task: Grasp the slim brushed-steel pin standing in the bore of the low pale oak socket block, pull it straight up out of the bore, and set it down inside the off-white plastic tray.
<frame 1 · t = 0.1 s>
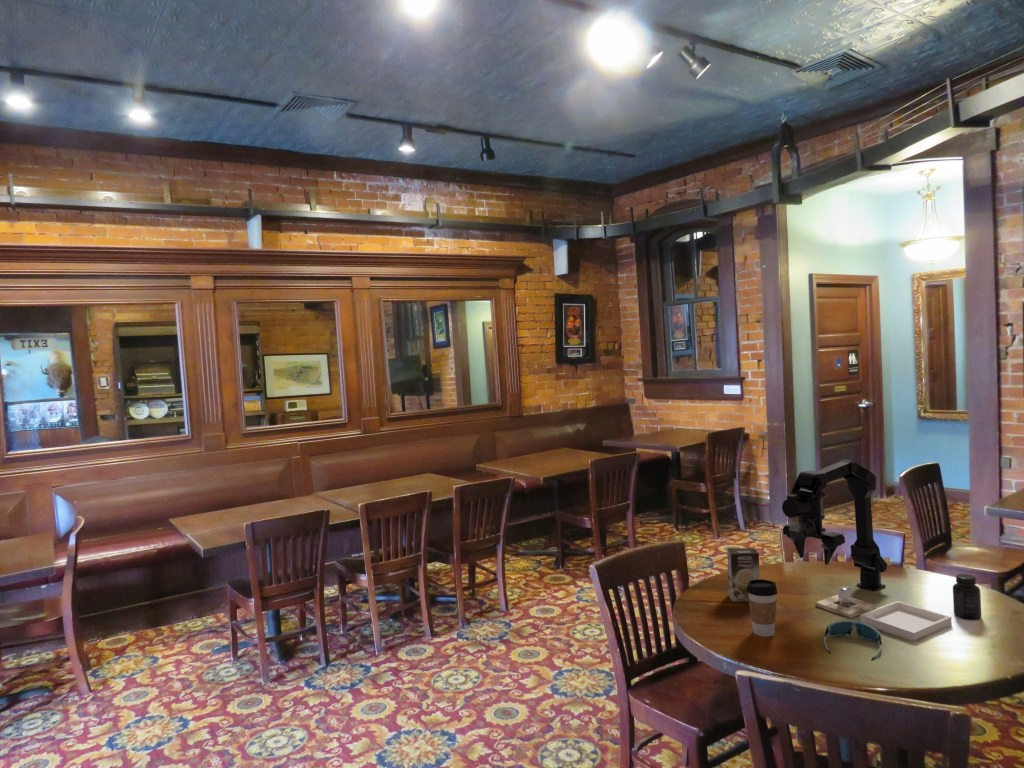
hand: (813, 561, 215), 15 cm above the table, fingers open, 9 cm apart
coffee box: (744, 598, 226), on the table
coffee cup: (763, 633, 200), on the table
socket block: (845, 607, 214), on the table
tray: (905, 624, 199), on the table
supplement bottle: (967, 616, 202), on the table
sunglasses: (852, 648, 188), on the table
steel pin: (844, 598, 214), in the socket block
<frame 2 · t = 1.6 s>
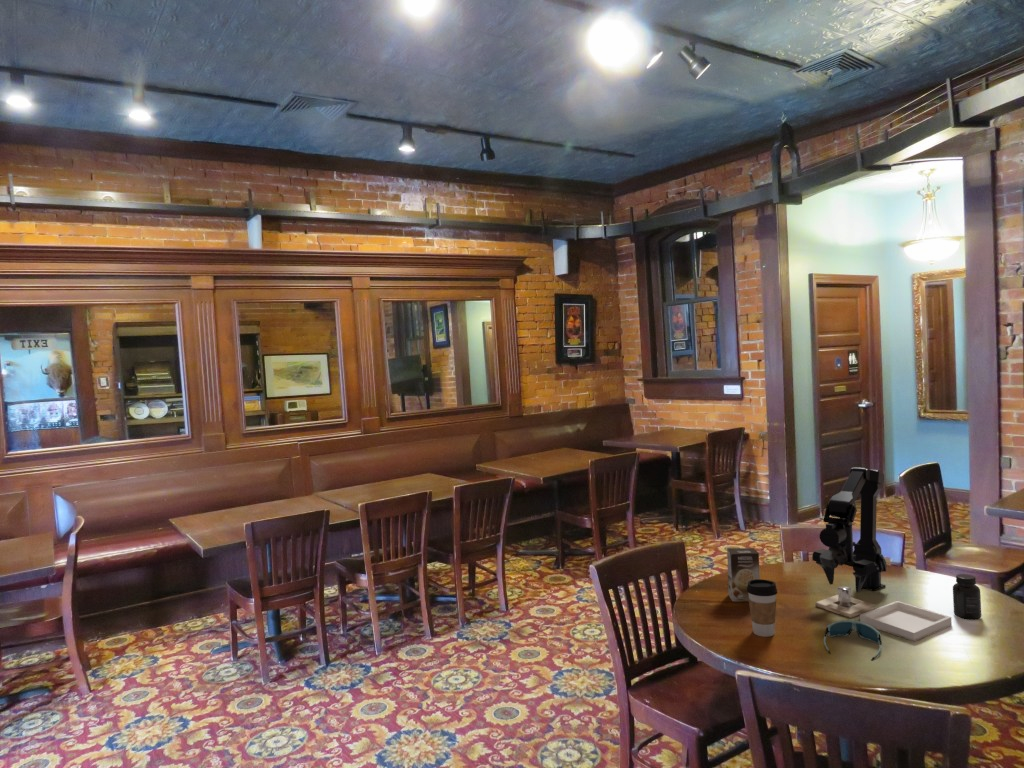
hand: (844, 588, 214), 6 cm above the table, fingers open, 9 cm apart
nothing on the table moved.
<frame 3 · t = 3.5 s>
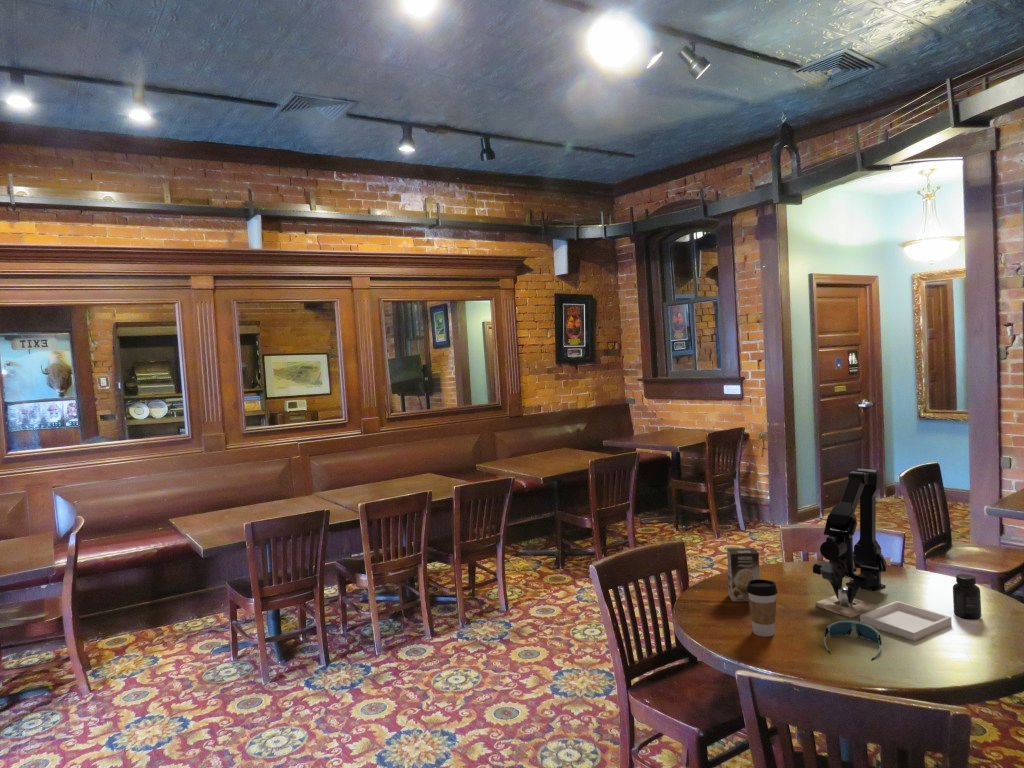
hand: (844, 600, 214), 2 cm above the table, fingers closed on steel pin, 4 cm apart
steel pin: (844, 597, 214), in the socket block, touching gripper
everything else where it was.
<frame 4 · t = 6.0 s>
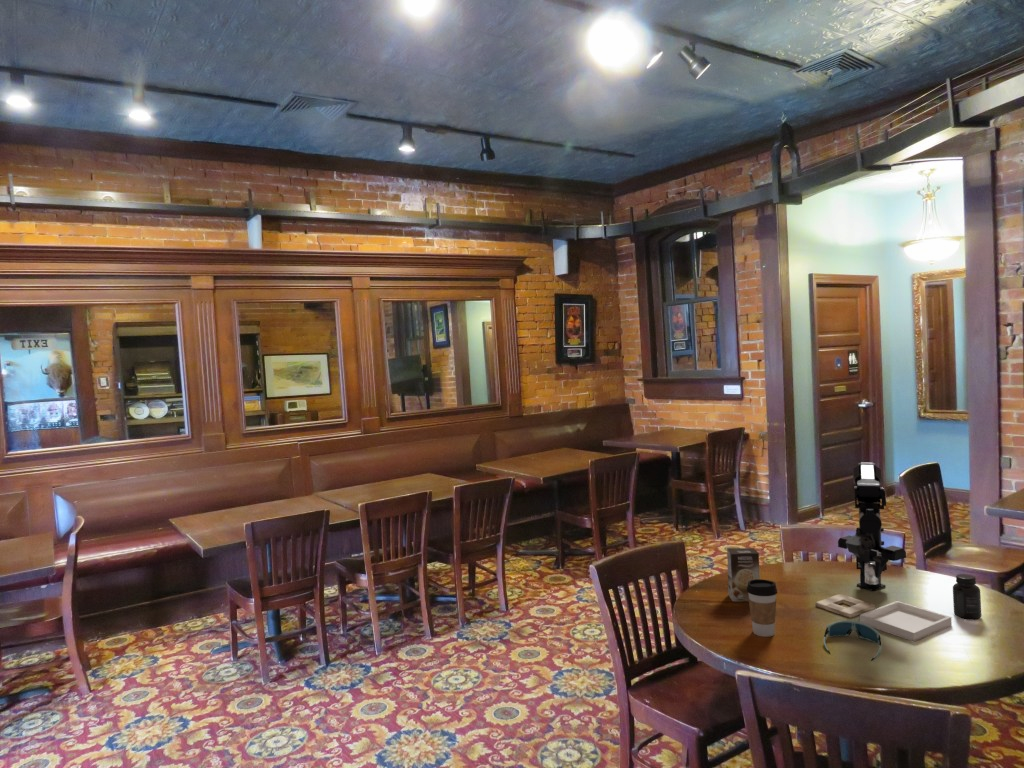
hand: (871, 575, 206), 12 cm above the table, fingers closed on steel pin, 4 cm apart
steel pin: (871, 572, 206), point 13 cm above the table, touching gripper
everything else where it was.
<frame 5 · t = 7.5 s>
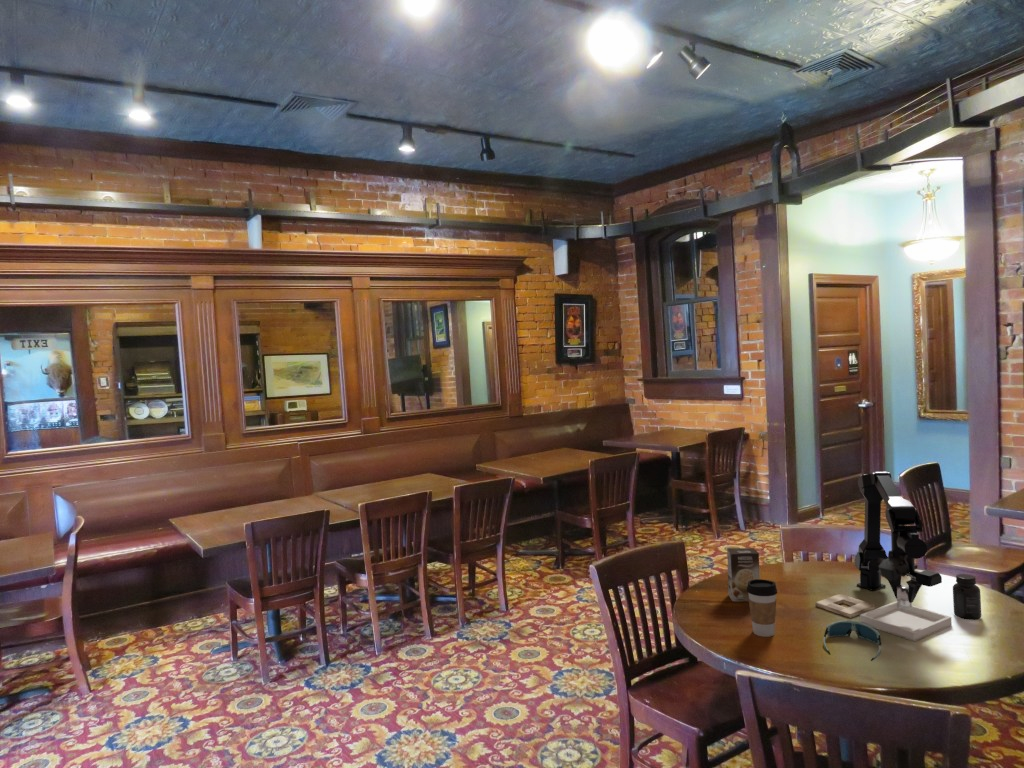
hand: (904, 600, 199), 7 cm above the table, fingers closed on steel pin, 4 cm apart
steel pin: (904, 597, 199), point 8 cm above the table, touching gripper
everything else where it was.
when the fingers open (4 cm above the table, at t = 8.7 s): steel pin drops 1 cm, resting on tray.
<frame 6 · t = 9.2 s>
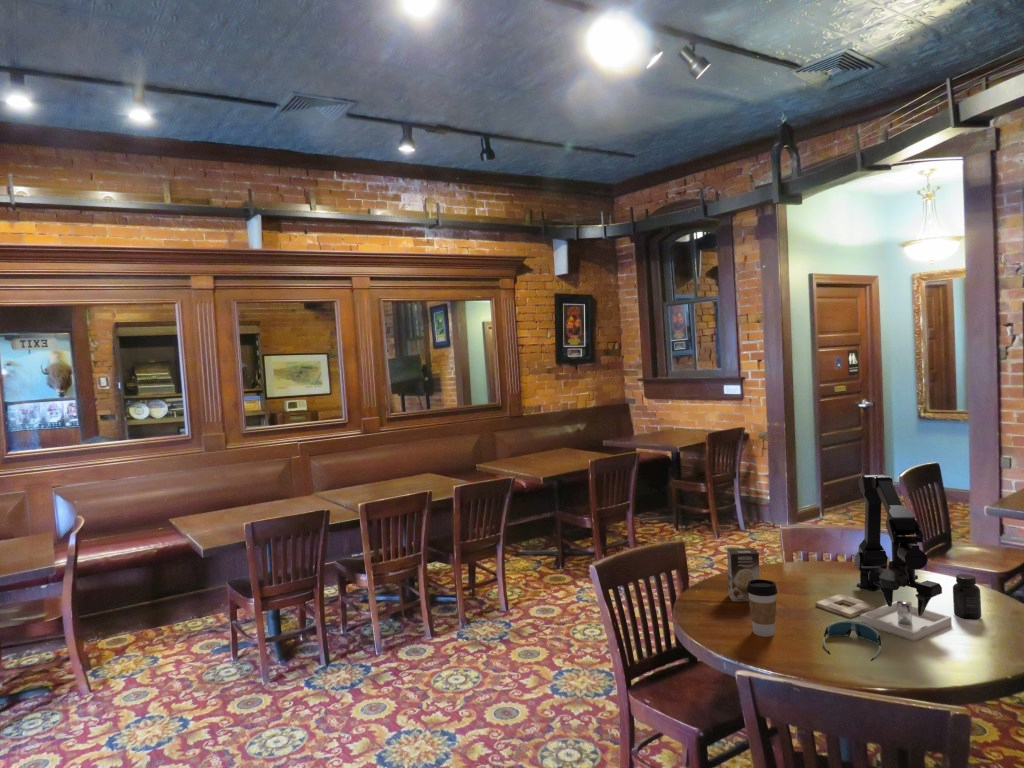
hand: (904, 610, 199), 4 cm above the table, fingers open, 9 cm apart
steel pin: (904, 612, 199), in the tray
everything else where it was.
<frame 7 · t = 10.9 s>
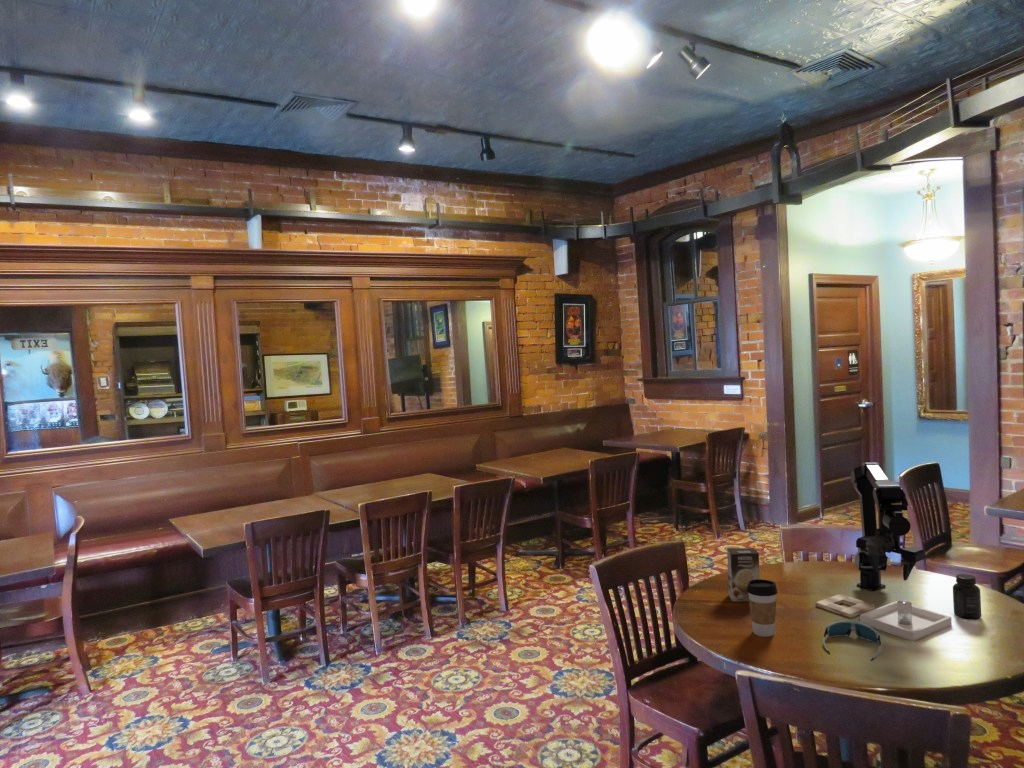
hand: (890, 575, 207), 11 cm above the table, fingers open, 9 cm apart
nothing on the table moved.
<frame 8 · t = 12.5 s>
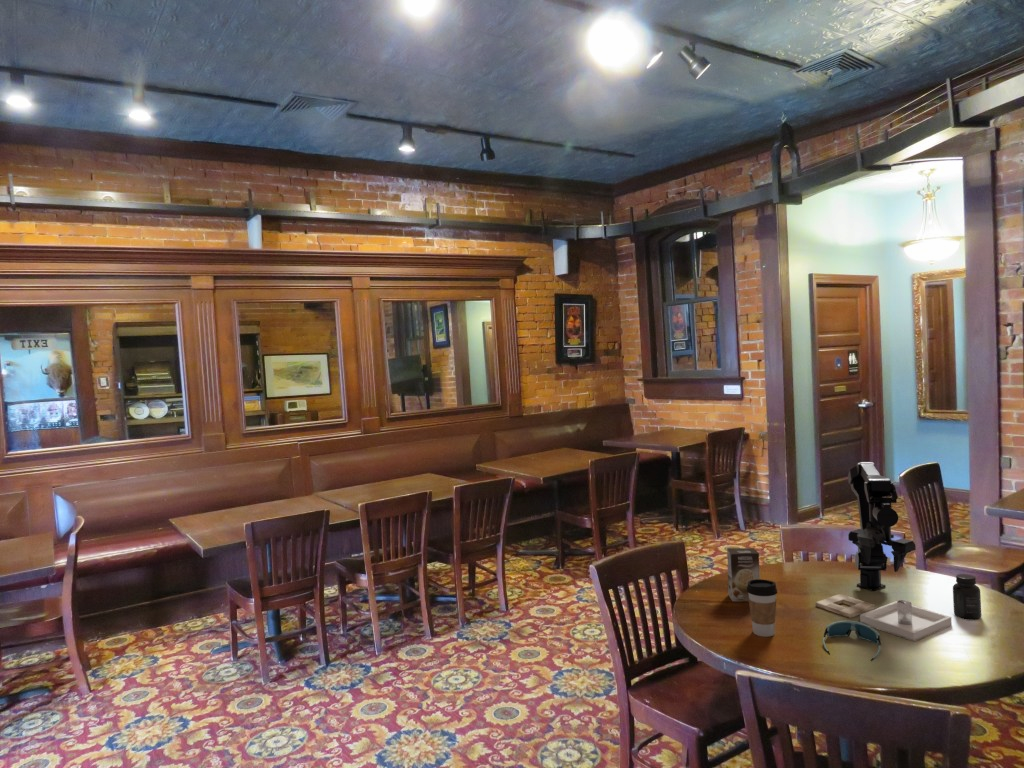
hand: (881, 567, 213), 12 cm above the table, fingers open, 9 cm apart
nothing on the table moved.
at the end: steel pin inside the target area on the tray (0.1 cm from its centre), point 3.5 cm above the tray's base; the gripper is holding nothing; steel pin moved 18.1 cm from its start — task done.
